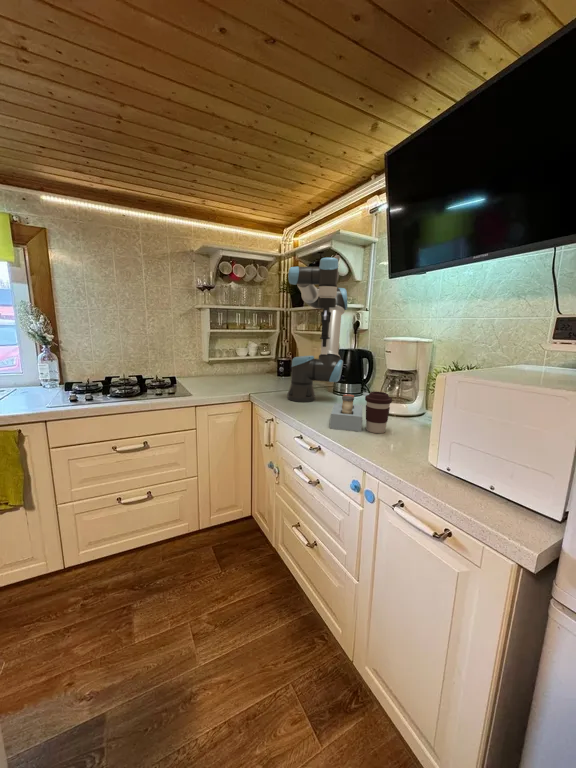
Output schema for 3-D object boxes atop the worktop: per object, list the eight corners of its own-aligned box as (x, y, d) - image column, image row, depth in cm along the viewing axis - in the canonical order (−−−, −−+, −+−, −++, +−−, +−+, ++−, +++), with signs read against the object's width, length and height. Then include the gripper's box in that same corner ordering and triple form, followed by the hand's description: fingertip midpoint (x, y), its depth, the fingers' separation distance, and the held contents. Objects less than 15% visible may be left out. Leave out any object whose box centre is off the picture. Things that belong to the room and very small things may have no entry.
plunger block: (333, 416, 143) (334, 403, 142) (361, 418, 140) (362, 405, 139) (329, 428, 126) (330, 413, 124) (361, 431, 123) (362, 416, 122)
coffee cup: (393, 430, 125) (396, 393, 123) (381, 436, 118) (385, 397, 115) (370, 424, 132) (373, 389, 129) (357, 430, 125) (360, 392, 122)
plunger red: (342, 414, 140) (343, 394, 138) (352, 415, 139) (354, 394, 137) (341, 416, 135) (342, 396, 133) (352, 418, 134) (354, 397, 132)
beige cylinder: (341, 416, 131) (342, 395, 129) (352, 417, 130) (354, 396, 128) (340, 420, 126) (341, 397, 125) (352, 421, 125) (353, 398, 124)
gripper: (319, 298, 140) (316, 351, 145) (316, 296, 127) (313, 355, 132) (336, 298, 138) (333, 352, 143) (335, 297, 126) (331, 356, 131)
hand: (324, 354), depth 138 cm, fingers closed
